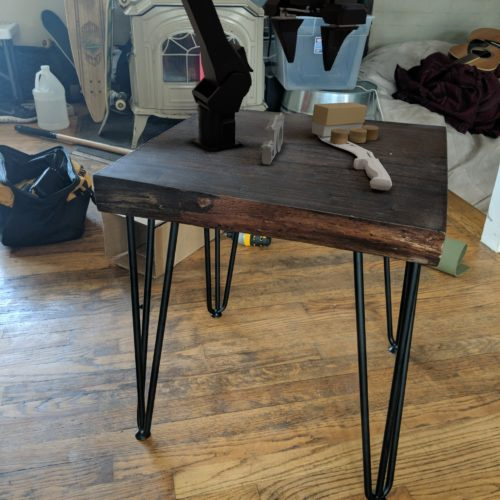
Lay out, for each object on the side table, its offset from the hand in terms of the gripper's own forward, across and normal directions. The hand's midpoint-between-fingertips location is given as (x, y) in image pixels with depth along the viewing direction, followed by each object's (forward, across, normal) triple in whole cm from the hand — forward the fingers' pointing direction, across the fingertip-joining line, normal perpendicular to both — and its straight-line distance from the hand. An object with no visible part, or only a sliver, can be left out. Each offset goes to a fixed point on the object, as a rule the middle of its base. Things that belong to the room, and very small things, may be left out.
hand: (308, 66), depth 87 cm
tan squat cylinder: (+12, -7, -2) cm, 14 cm away
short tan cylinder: (+12, -7, -6) cm, 15 cm away
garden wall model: (+12, -5, +11) cm, 17 cm away
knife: (+12, -13, +2) cm, 18 cm away
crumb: (+12, -7, -10) cm, 17 cm away
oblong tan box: (+12, -2, -6) cm, 13 cm away
